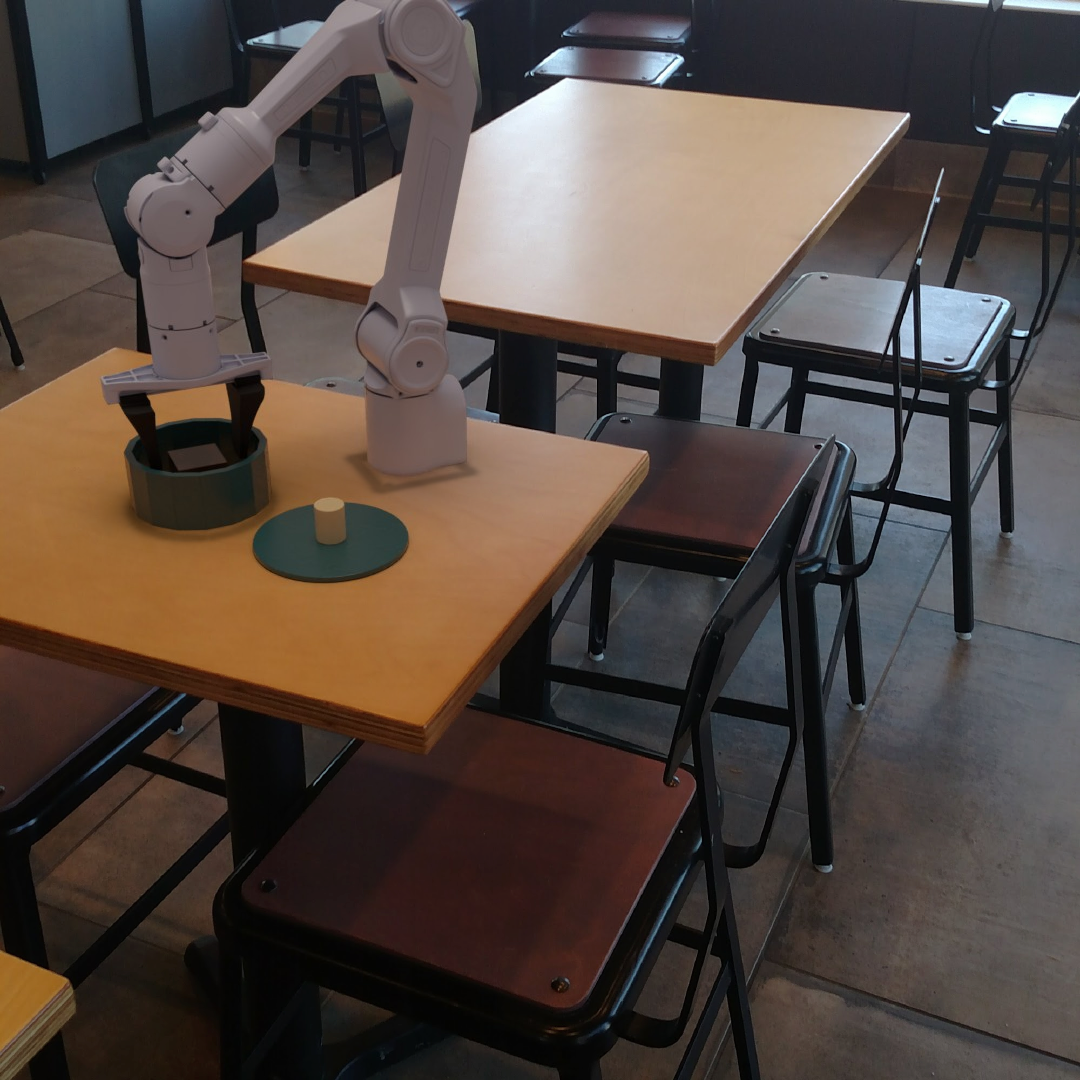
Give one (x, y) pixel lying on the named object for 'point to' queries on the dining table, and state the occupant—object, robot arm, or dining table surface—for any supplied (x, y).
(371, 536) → the cover
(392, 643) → the dining table surface
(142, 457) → the container
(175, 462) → the block
